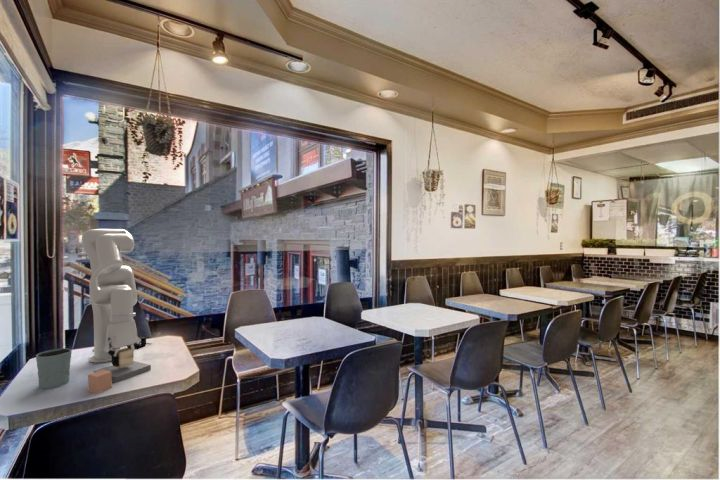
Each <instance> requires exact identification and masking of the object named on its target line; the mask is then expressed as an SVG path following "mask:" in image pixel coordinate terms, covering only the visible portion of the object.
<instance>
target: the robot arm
mask: <svg viewBox="0 0 720 480" xmlns="http://www.w3.org/2000/svg"><path fill="white" fill-rule="evenodd" d="M81 244H82V247H83V250H84V252H85V254H86V256H87V257H88V261H89V263H90V272H91V276H90V278H89V285H88V286H89V294H90V303H91V307H92V314H93V346H94V348H93V349H92V350H91V351H92V353H93V355H92V356H91V357H90V358H89V362H90V363H95V364H100V363H103V364H104V363H107V362H111V364H112V365H114V366H118V365H119V356H117V354H118V350H119V349H122V348H129V349H133V352H134V351H135V350H136V349H135V348H136V346H137V345H138V344H139V343H140V341H141V339H140V337H139V336H138V329H137V324H136V321H135V319H134V317H136V314H137V313H136V312H134V306H135V305H136V304H137V303H138V292H137V287H136V286H137V285H136V279H135V274H134V270H133V268H132V267H130V266H128V265H124V261H123V257H122V253H130V252H133V251H134V249H135V240H134V237H133V235H132V234H131V232H129V231H128V230H126V229H123V228H94V229H93V228H91V229H86V230H85V231H84V232H83V233H82V235H81ZM112 365H111V366H112Z"/></svg>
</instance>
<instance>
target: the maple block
mask: <svg viewBox="0 0 720 480" xmlns="http://www.w3.org/2000/svg"><path fill="white" fill-rule="evenodd" d="M117 356H119V365H118V366H114V365H113V366H114V367H118V368H122V367H125V366H128V365H131V364H133V361H134V351H133V349H129V348H127V347H122V348H120V349H119V350H118V354H117Z"/></svg>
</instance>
